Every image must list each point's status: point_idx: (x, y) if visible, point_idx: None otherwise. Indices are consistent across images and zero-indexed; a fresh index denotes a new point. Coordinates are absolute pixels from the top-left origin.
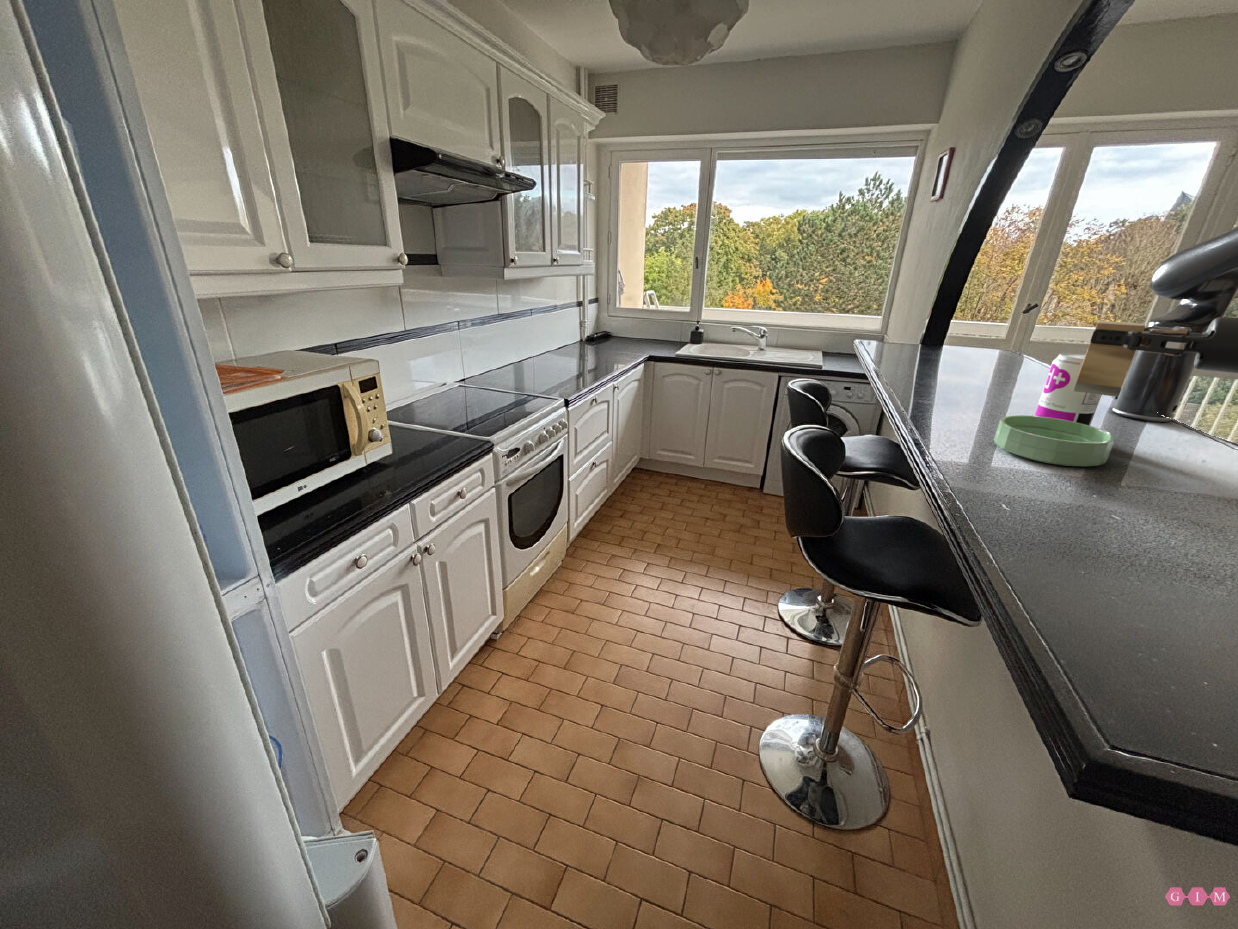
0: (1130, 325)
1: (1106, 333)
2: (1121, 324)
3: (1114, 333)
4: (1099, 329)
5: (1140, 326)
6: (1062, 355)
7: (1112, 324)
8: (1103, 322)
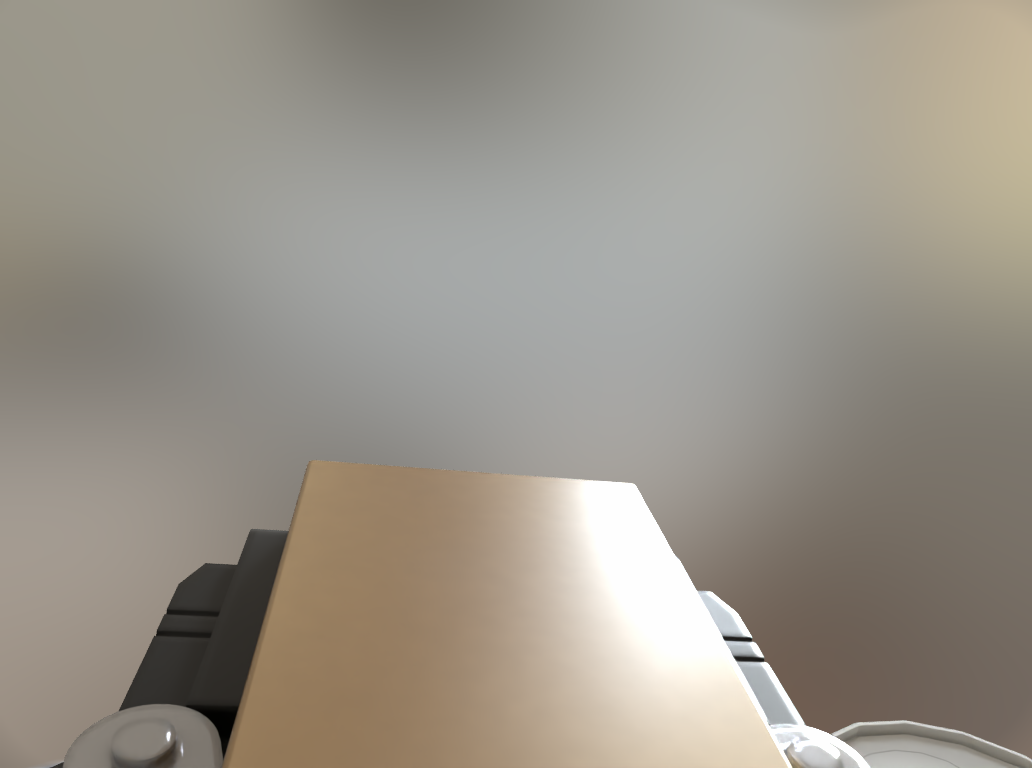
0: (257, 644)
1: (173, 610)
2: (286, 576)
3: (192, 657)
4: (250, 538)
5: (229, 741)
6: (831, 735)
7: (289, 532)
8: (439, 491)
